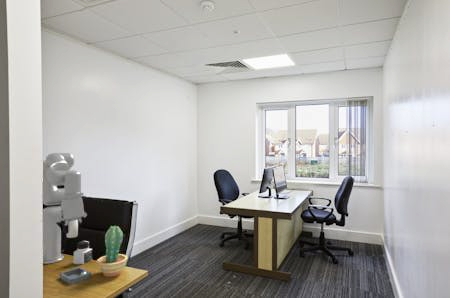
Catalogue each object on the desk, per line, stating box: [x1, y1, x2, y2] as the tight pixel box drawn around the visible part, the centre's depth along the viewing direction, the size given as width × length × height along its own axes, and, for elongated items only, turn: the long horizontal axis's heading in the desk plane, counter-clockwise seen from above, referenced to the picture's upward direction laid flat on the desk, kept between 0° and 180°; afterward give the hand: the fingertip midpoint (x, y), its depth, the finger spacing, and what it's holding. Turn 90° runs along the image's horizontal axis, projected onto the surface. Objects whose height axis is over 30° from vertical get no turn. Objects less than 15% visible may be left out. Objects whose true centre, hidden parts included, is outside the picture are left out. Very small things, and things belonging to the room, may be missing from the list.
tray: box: [59, 266, 92, 286], centre depth 147 cm, size 12×10×3 cm
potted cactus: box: [96, 225, 128, 277], centre depth 153 cm, size 15×15×25 cm
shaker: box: [65, 217, 79, 239], centre depth 148 cm, size 5×5×10 cm
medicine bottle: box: [73, 240, 93, 265], centre depth 169 cm, size 7×7×12 cm
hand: (72, 231), depth 148 cm, fingers closed on shaker, 5 cm apart
